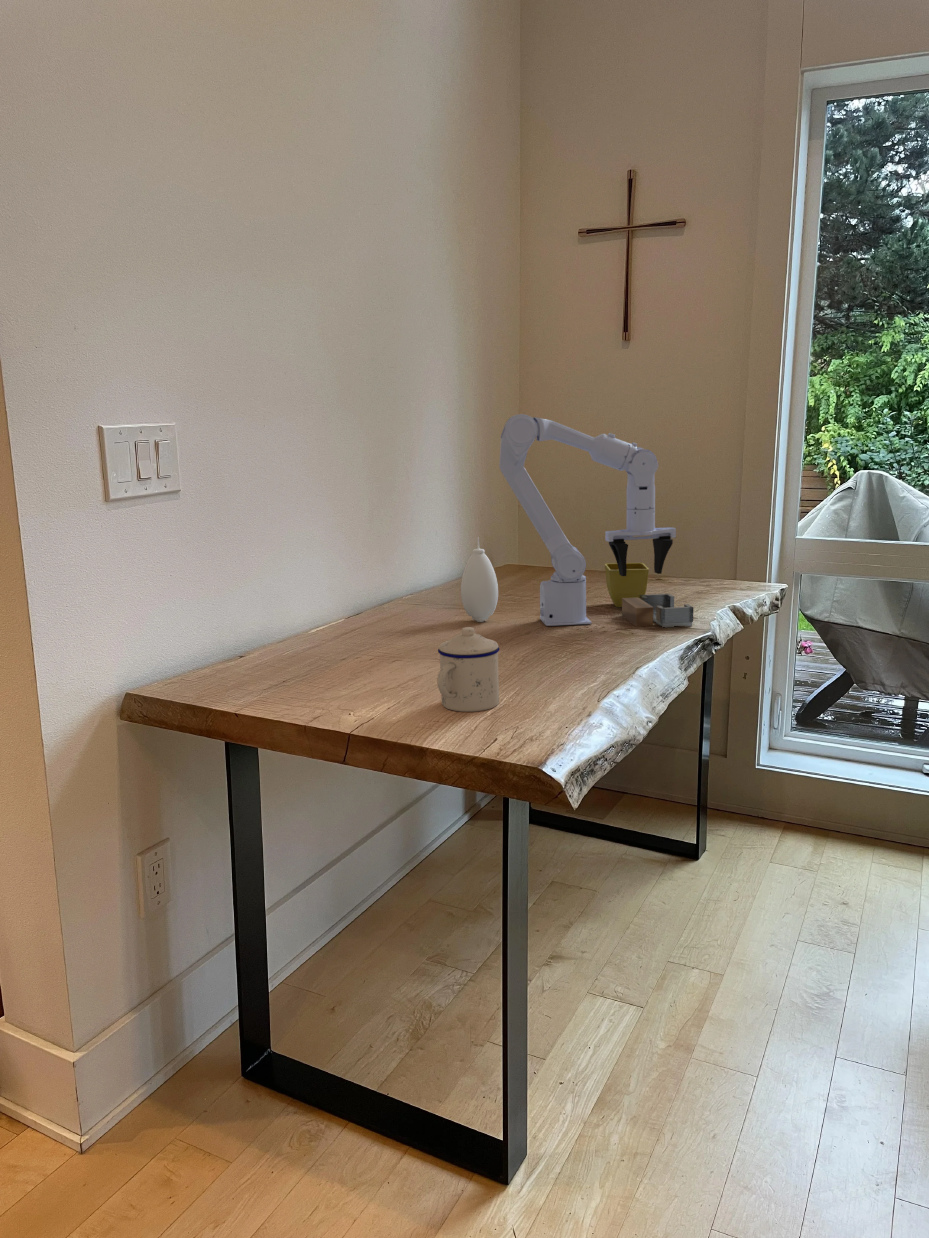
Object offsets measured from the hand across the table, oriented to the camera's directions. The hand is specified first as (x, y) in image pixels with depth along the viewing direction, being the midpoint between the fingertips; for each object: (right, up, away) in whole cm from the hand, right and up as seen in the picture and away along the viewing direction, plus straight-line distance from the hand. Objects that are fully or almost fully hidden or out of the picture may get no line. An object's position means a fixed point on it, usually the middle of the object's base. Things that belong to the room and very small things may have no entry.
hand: (640, 574), depth 193 cm
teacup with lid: (-36, -22, -54) cm, 69 cm away
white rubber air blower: (-33, -10, +6) cm, 35 cm away
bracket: (+6, -9, +2) cm, 11 cm away
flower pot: (0, -6, +17) cm, 18 cm away
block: (0, -10, +1) cm, 10 cm away
